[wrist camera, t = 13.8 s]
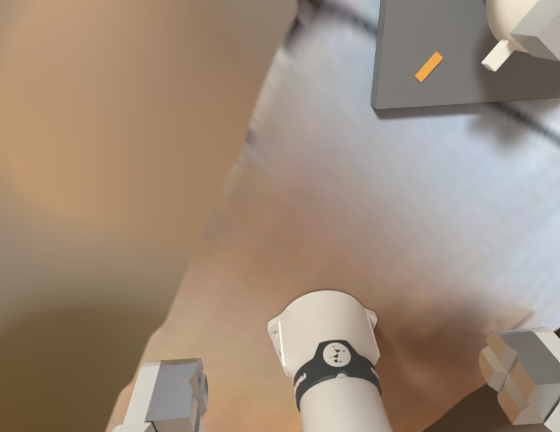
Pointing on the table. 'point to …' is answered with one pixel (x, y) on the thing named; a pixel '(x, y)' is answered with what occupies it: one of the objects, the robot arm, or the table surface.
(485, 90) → the lock base
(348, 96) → the table surface
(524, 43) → the cap
